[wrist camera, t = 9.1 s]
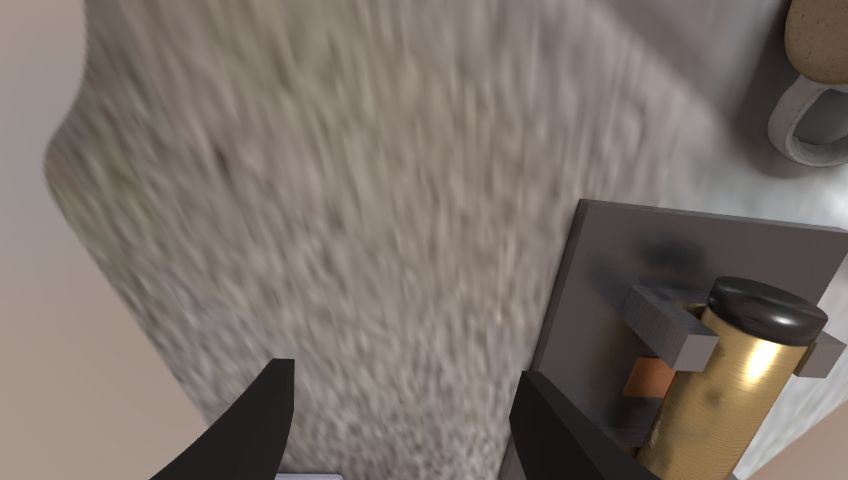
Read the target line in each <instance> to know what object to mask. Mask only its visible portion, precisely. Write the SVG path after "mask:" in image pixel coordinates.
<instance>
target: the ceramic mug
mask: <svg viewBox="0 0 848 480" xmlns="http://www.w3.org/2000/svg"><path fill="white" fill-rule="evenodd" d="M785 49H786V54H787V56H788V58H789V61H790V63H791V64H792V66H793V67H794V68H795V69H796V71H797V72H799V73H800V76H799V77H798V78H797V79H796V81H795V82H794V83H793V84H792V85H790V87H789V88H788V89H787V90H786V91H785V92H784V94H783V95H782V96H781V97H780V99H779V100H778V103H777V105H776V107H775V109H774V110H773V113H772V115H771V116H770V118H769V121H768V126H767V134H768V138H769V140H770V142H771V143H772V144H773V145H774V146H775V148H776V149H778V150H779V151H780V152H781V153H782V154H783V155H784V156H785V157H786V158H788V159H790V160H791V161H793V162H795V163H798V164H801V165H805V166H809V167H831V166H836V165H841V164H845V163H848V135H847V136H845V137H842V138H840V139H838V140H835V141H832V142H830V143H827V144H820V145H812V144H808V143H804V142H800V141H799V140H798V138H797V137H796V136H794V135H792V134H793V131H794V129H795V127H796V125H797V123H798V122H799V121H800V120H801V119H802V117H803V115H804V114H805V112H806V111H807V110H808V108H809V107H810V106H812V105H813V104H814V103H815V101H816V100H817V99H818V98H819V96H820V95H821V94H822V93H823V92H824V91H826V90H828V89H834V90H837V91H840V92H844V93H848V0H792V3H791V6H790V8H789V11H788V15H787V20H786V25H785Z"/></svg>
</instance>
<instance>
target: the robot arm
mask: <svg viewBox="0 0 848 480" xmlns="http://www.w3.org/2000/svg"><path fill="white" fill-rule="evenodd" d="M294 362H295V359H277V358H274V359H272V360H271V361H270V362H269V363H268V364H267V365H266V367H265V368H264V369H263V370H262V372H261V373H260V374H259V375H258V376H257V378H256V379H255V380H254V381H253V382H252V383H251V385H250V386H249V387H248V388H247V389H246V390H245V391H244V393H243V394H242V395H241V396H240V397H239V398H238V399H237V400H236V401H235V402H234V403H233V404H232V405H231V407H230V408H229V409H228V410H227V411H226V412H225V413H224V414H223V415H222V416H221V417H220V418H219V419H218V420H217V421H216V422H215V423H214V424H213V425H212V426H211V427H210V428H209V429H208V430H207V431H205V432H204V433H203V434H202V435H201V436H200V437H199V438H198V439H197V440H196V441H195V442H194V443H193V444H191V445H190V446H189V447H188V448H187V449H186V450H185V451H184V452H182V453H181V454H180V455H179V456H178V457H177V458H175V459H174V460H173V461H172V462H171V463H169V464H168V465H167V466H166V467H165V468H163V469H162V470H161V471H160V472H158V473H157V474H156V475H154V476H153V477H152V478H151V479H149V480H343V477H342V476H341V475H338V474H279V473H277V471H278V468H279V465H280V462H281V459H282V456H283V453H284V450H285V447H286V443H287V439H288V435H289V431H290V426H291V421H292V417H293V412H294ZM509 421H510V426H511V431H512V435H513V440H514V444H515V448H516V451H517V454H518V457H519V460H520V463H521V466H522V469H523V471H524V474H525V477H526V480H661V479H660V478H659V477H657V476H656V475H655V474H653V473H652V472H651V471H649V470H648V469H647V468H646V467H644V466H643V465H642V464H640V463H639V462H638V461H637V460H635V459H634V458H633V457H631V456H630V455H629V454H628V453H627V452H625V451H624V450H623V449H622V448H621V447H619V446H618V445H617V444H616V443H615V442H614V441H613V440H611V439H610V438H609V437H608V436H607V435H606V434H605V433H603V432H602V431H601V430H600V429H599V428H598V427H597V426H596V425H595V424H594V423H593V422H592V421H590V420H589V419H588V418H587V417H586V416H585V415H584V414H583V413H582V412H581V411H580V410H579V409H578V408H577V407H576V406H575V405H574V404H573V403H572V402H571V401H570V400H569V399H568V398H567V397H566V396H565V395H564V394H563V393H562V392H561V391H560V390H559V389H558V388H557V387H556V386H555V385H554V384H553V383H552V382H551V381H550V380H549V379H548V378H546V377H545V376H544V375H543V374H542V373H541V372H539V371H522V373H521V377H520V380H519V384H518V388H517V391H516V395H515V398H514V402H513V405H512V409H511V412H510V416H509Z"/></svg>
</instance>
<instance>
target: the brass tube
mask: <svg viewBox="0 0 848 480" xmlns="http://www.w3.org/2000/svg"><path fill="white" fill-rule="evenodd" d="M706 304H707V306H706V308H705V310H704V312H703V314H702V316H701V319H700V321H701V322H702V323H703V324H705V325H706V326H707V327H708V328H710V329H711V330H712V331H714V332H715V333H716V334H717V335H719V336H720V338H719V340H718V342H717V344H716V346H715V348H714V350H713V352H712V354H711V356H710V358H709V360H708V362H707V364H706V366H705V368H704V370H703V372H697V371H678V370H676V372H675V374H674V377H673V379H672V381H671V383H670V385H669V387H668V390H667V392H666V394H665V396H664V398H663V400H662V402H661V405H660V407H659V409H658V411H657V413H656V415H655V418H654V420H653V422H652V424H651V426H650V428H649V430H648V433H647V435H646V437H645V439H644V441H643V443H642V446H641V448H640V450H639V452H638V454H637V456H636V458H635V460H637V461H638V462H639V463H640V464H642V465H643V466H644V467H646V468H647V469H648V470H649V471H651V472H652V473H653V474H655V475H656V476H657V477H659V478H660V479H661V480H728V479H729V477H730V476H731V474H732V472H733V471H734V469H735V467H736V466H737V464H738V462H739V461H740V459H741V457H742V456H743V454H744V452H745V451H746V449H747V447H748V446H749V444H750V442H751V441H752V439H753V437H754V436H755V434H756V432H757V431H758V429H759V427H760V426H761V424H762V423H763V421H764V419H765V418H766V416H767V414H768V413H769V411H770V409H771V408H772V406H773V404H774V403H775V401H776V399H777V398H778V396H779V394H780V393H781V391H782V389H783V388H784V386H785V384H786V383H787V381H788V379H789V378H790V376H791V374H792V373H793V371H794V369H795V368H796V366H797V364H798V363H799V361H800V359H801V358H802V356H803V355H804V353H805V351H806V350H807V348H808V346H811V345H813V344H814V342H815V341H816V339H817V337H818V336H819V334H820V332H821V331H822V329H823V328H824V326H825V324H826V323H827V321H828V316H827V315H826V313H825V312H824V311H822V310H821V309H820V308H818V307H817V306H815V305H814V304H812V303H810V302H809V301H807V300H805V299H803V298H801V297H799V296H797V295H794V294H792V293H790V292H787V291H785V290H782V289H780V288H777V287H774V286H771V285H768V284H765V283H761V282H758V281H754V280H750V279H745V278H740V277H732V276H722V277H718V278H717V279H716V280H715V283H714V285H713V287H712V289H711V291H710V293H709V296H708V298H707V300H706Z"/></svg>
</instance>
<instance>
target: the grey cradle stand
mask: <svg viewBox="0 0 848 480" xmlns="http://www.w3.org/2000/svg"><path fill="white" fill-rule="evenodd" d="M847 253H848V231H847V230H844V229H841V228H837V227H828V226H819V225H810V224H801V223H792V222H783V221H774V220H765V219H757V218H748V217H739V216H730V215H721V214H712V213H703V212H694V211H685V210H676V209H668V208H659V207H650V206H641V205H632V204H623V203H614V202H605V201H596V200H587V199H580V201H579V205H578V208H577V211H576V215H575V218H574V222H573V225H572V229H571V232H570V235H569V239H568V242H567V246H566V249H565V252H564V256H563V259H562V263H561V266H560V270H559V273H558V276H557V280H556V283H555V287H554V290H553V293H552V297H551V300H550V304H549V307H548V311H547V314H546V317H545V321H544V324H543V328H542V331H541V334H540V338H539V341H538V345H537V348H536V352H535V355H534V358H533V362H532V365H531V369H530V371H539V372H541V373H542V374H543V375H544V376H545V377H546V378H548V379H549V380H550V381H551V382H552V383H553V384H554V385H555V386H556V387H557V388H558V389H559V390H560V391H561V392H562V393H563V394H564V395H565V396H566V397H567V398H568V399H569V400H570V401H571V402H572V403H573V404H574V405H575V406H576V407H577V408H578V409H579V410H580V411H581V412H582V413H583V414H584V415H585V416H586V417H587V418H588V419H589V420H590V421H592V422H593V423H594V424H595V425H596V426H597V427H598V428H599V429H600V430H601V431H602V432H603V433H605V434H606V435H607V436H608V437H609V438H610V439H611V440H613V441H614V442H615V443H616V444H617V445H618V446H619V447H621V448H622V449H623V450H624V451H625V452H627V453H628V454H629V455H630V456H631V457H633V458H634V459H635V458H636V456H637V454H638V452H639V450H640V448H641V446H642V443H643V441H644V439H645V437H646V435H647V433H648V430H649V428H650V426H651V424H652V422H653V420H654V418H655V415H656V413H657V411H658V409H659V407H660V405H661V402H662V400H663V398H664V396H665V394H666V392H667V390H668V387H669V385H670V383H671V381H672V379H673V377H674V374H675V372H676V370H678V371H697V372H703V370H704V368H705V366H706V364H707V362H708V360H709V358H710V356H711V354H712V352H713V350H714V348H715V346H716V344H717V342H718V340H719V338H720V336H719V335H717V334H716V333H715V332H714V331H712V330H711V329H710V328H708V327H707V326H706V325H705V324H703V323H702V322H701V321H700V319H701V316H702V314H703V312H704V310H705V308H706V306H707V304H706V300H707V298H708V296H709V293H710V291H711V289H712V287H713V285H714V283H715V280H716V279H717V278H718V277H722V276H732V277H740V278H745V279H750V280H754V281H758V282H761V283H765V284H768V285H771V286H774V287H777V288H780V289H782V290H785V291H787V292H790V293H792V294H794V295H797V296H799V297H801V298H803V299H805V300H807V301H809V302H810V303H812V304H814V305H815V306H817V304H818V302H819V301H820V299H821V297H822V295H823V294H824V292H825V290H826V289H827V287H828V285H829V283H830V282H831V280H832V278H833V277H834V275H835V273H836V271H837V270H838V268H839V266H840V265H841V263H842V261H843V260H844V258H845V256H846V254H847ZM846 346H847V345H846V344H844V343H843V342H841V341H839V340H838V339H836V338H834V337H832V336H831V335H829V334H827V333H825V332H824V331H821V332H820V334H819V336H818V337H817V339H816V341H815V342H814V344H813V345H811V346H808V348H807V350H806V351H805V353H804V355H803V356H802V358H801V359H800V361H799V363H798V364H797V366H796V368H795V369H794V371H793V374H795V375H796V376H797V377H811V378H826V377H827V375H828V374H829V372H830V371H831V369H832V368H833V366H834V364H835V363H836V361H837V360H838V358H839V357H840V355H841V354H842V352H843V351H844V349H845V347H846ZM499 480H526V477H525V474H524V471H523V469H522V466H521V463H520V460H519V457H518V454H517V451H516V448H515V444H514V440H513V435H512V434H511V437H510V440H509V444H508V447H507V451H506V454H505V458H504V461H503V464H502V468H501V471H500V475H499ZM728 480H738V479H737V478H736V477H735V475H734V474H733V473H732V474H731V476H730V477H729V479H728Z"/></svg>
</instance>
